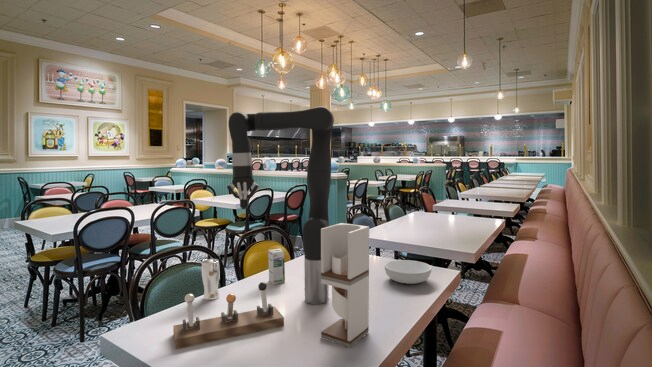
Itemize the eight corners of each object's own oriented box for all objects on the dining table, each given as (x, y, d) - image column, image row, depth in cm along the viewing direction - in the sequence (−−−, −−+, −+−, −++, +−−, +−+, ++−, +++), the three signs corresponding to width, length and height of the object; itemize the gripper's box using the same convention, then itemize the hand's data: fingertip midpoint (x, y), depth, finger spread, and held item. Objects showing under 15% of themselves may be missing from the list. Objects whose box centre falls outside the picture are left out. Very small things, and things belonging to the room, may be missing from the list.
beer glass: (215, 301, 149) (214, 264, 148) (199, 300, 151) (197, 263, 149) (223, 294, 156) (222, 259, 155) (207, 293, 158) (206, 258, 156)
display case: (341, 324, 129) (341, 222, 126) (368, 332, 123) (369, 226, 120) (321, 337, 120) (320, 228, 117) (350, 347, 114) (350, 233, 111)
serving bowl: (437, 278, 176) (437, 263, 175) (422, 292, 158) (422, 276, 158) (394, 270, 187) (395, 257, 186) (376, 283, 169) (376, 268, 169)
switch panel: (274, 314, 137) (274, 298, 137) (284, 325, 128) (283, 309, 128) (173, 334, 123) (172, 317, 122) (176, 349, 114) (175, 330, 113)
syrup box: (272, 284, 168) (272, 252, 167) (268, 280, 173) (268, 249, 172) (285, 282, 170) (284, 250, 169) (280, 278, 176) (279, 247, 174)
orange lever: (233, 315, 127) (235, 290, 123) (235, 322, 125) (237, 297, 121) (224, 317, 126) (225, 292, 122) (225, 324, 124) (227, 298, 119)
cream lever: (196, 326, 122) (193, 292, 124) (197, 327, 119) (194, 292, 121) (186, 328, 120) (183, 294, 122) (186, 329, 118) (184, 294, 120)
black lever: (268, 312, 132) (265, 281, 134) (270, 313, 129) (267, 281, 131) (260, 314, 131) (256, 282, 133) (262, 314, 128) (259, 282, 130)
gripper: (222, 165, 145) (224, 210, 146) (256, 164, 144) (258, 209, 145) (228, 164, 152) (231, 207, 154) (261, 163, 151) (263, 207, 153)
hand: (244, 208), depth 149 cm, fingers closed
